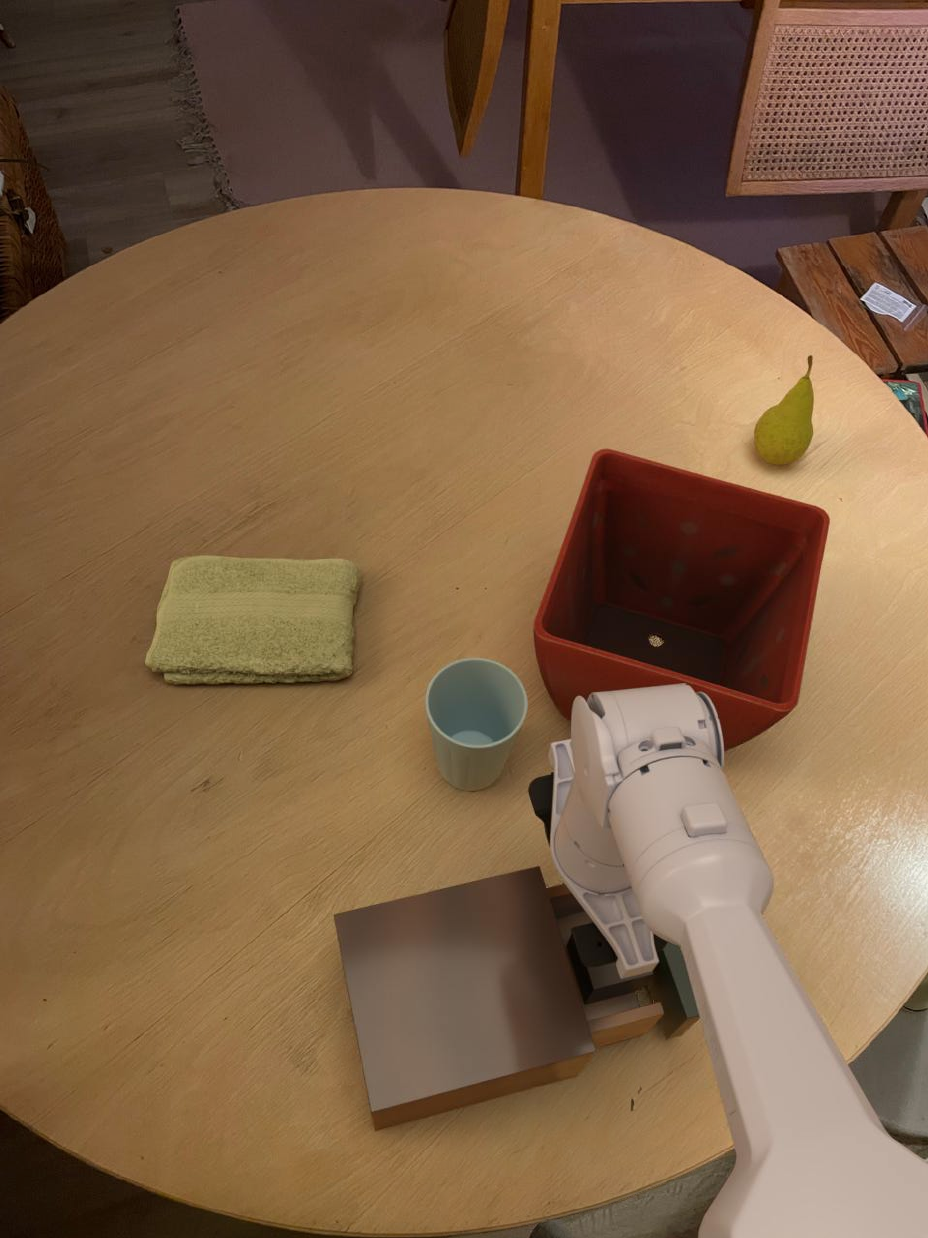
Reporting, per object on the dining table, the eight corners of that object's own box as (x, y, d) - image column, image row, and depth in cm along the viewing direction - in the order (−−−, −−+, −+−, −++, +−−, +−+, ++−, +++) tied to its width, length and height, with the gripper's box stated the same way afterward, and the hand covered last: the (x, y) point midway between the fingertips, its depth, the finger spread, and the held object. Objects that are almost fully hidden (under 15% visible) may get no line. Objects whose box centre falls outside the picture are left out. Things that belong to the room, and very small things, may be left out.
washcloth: (171, 564, 96) (164, 543, 93) (363, 570, 96) (361, 549, 94) (146, 688, 88) (138, 669, 86) (353, 694, 89) (352, 675, 86)
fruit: (765, 485, 104) (803, 398, 94) (734, 445, 107) (768, 357, 97) (812, 469, 106) (855, 382, 96) (781, 429, 108) (818, 341, 98)
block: (642, 990, 75) (654, 974, 71) (584, 1005, 74) (593, 990, 70) (622, 930, 77) (633, 912, 73) (565, 945, 76) (573, 927, 72)
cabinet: (527, 904, 80) (539, 865, 72) (578, 1076, 73) (596, 1051, 66) (340, 950, 77) (333, 914, 70) (374, 1131, 71) (371, 1113, 63)
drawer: (679, 872, 81) (700, 839, 75) (736, 1021, 75) (763, 998, 69) (459, 925, 78) (463, 896, 72) (500, 1085, 72) (507, 1067, 66)
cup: (434, 813, 83) (437, 756, 75) (414, 730, 87) (415, 666, 79) (525, 794, 85) (539, 736, 76) (501, 713, 89) (512, 649, 80)
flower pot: (733, 810, 85) (797, 714, 71) (510, 739, 87) (529, 632, 73) (770, 625, 95) (833, 508, 81) (569, 567, 97) (596, 444, 83)
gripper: (729, 926, 55) (674, 989, 67) (637, 693, 63) (602, 785, 74) (604, 958, 54) (570, 1016, 65) (526, 716, 61) (507, 806, 73)
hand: (580, 895), depth 70 cm, fingers open, 7 cm apart
